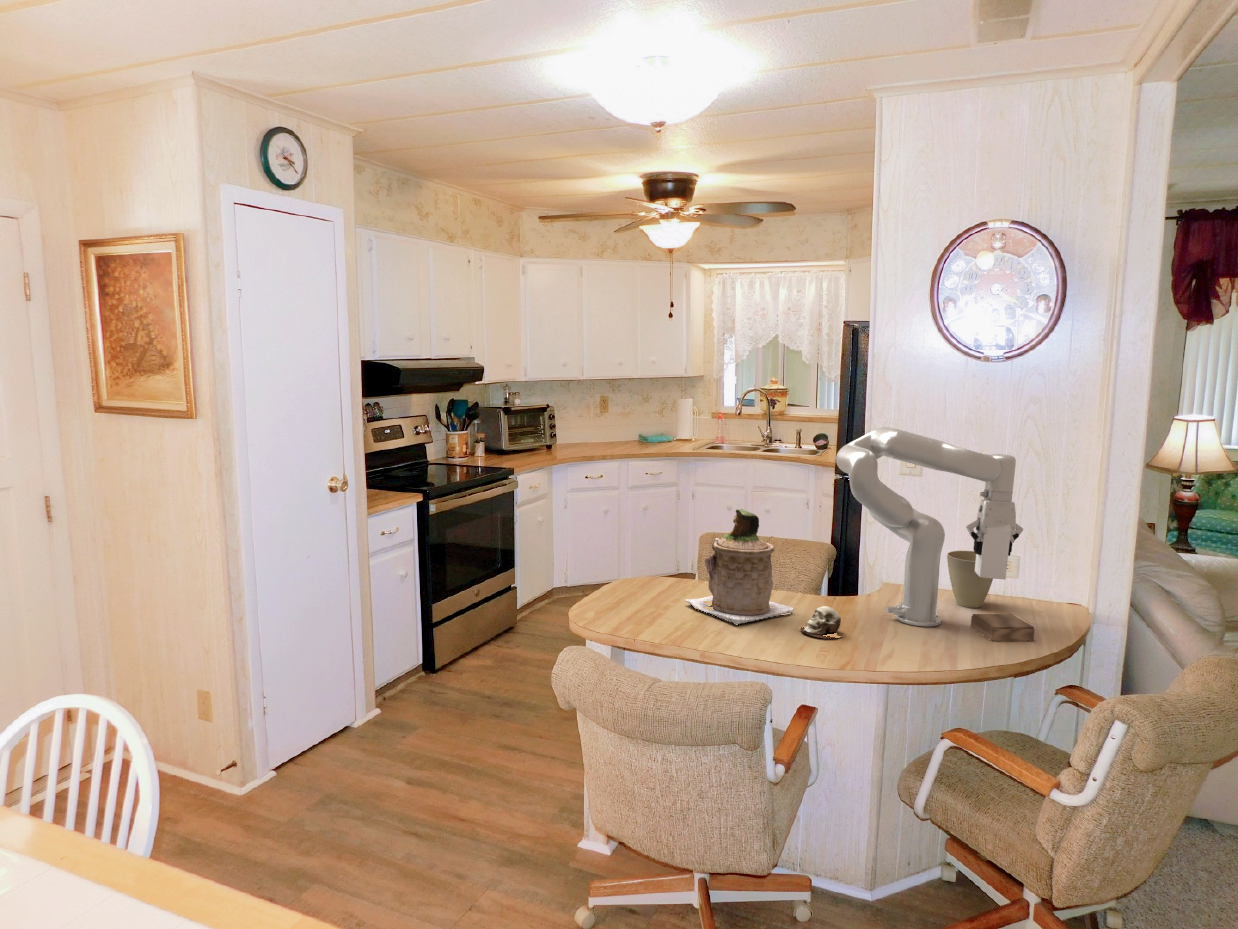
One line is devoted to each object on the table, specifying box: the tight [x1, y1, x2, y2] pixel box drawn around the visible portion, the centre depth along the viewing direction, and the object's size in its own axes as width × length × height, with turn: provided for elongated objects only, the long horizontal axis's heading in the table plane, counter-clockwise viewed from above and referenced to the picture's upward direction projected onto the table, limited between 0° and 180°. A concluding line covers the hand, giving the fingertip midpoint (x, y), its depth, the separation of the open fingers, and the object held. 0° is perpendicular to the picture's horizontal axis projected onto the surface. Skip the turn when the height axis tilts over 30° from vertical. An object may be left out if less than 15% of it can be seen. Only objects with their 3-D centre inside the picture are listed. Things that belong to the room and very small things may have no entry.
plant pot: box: [946, 550, 994, 609], centre depth 261 cm, size 15×15×16 cm
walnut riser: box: [970, 613, 1035, 642], centre depth 234 cm, size 12×12×4 cm
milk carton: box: [975, 524, 1011, 580], centre depth 244 cm, size 7×7×19 cm
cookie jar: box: [684, 508, 794, 625], centre depth 251 cm, size 25×25×32 cm
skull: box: [800, 605, 842, 640], centre depth 233 cm, size 12×10×10 cm
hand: (992, 554), depth 245 cm, fingers closed on milk carton, 8 cm apart
